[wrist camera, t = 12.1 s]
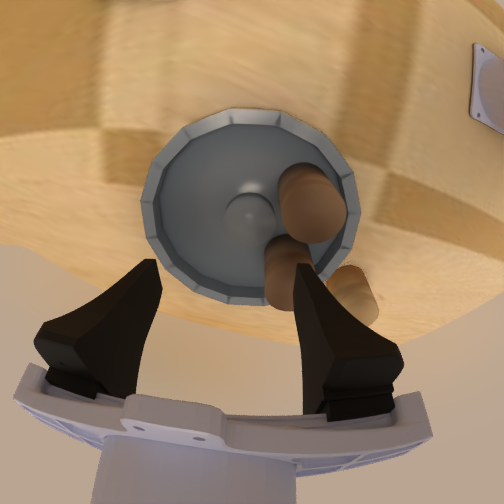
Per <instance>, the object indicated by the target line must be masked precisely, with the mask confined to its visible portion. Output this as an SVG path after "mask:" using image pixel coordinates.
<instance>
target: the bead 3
mask: <svg viewBox="0 0 504 504" xmlns="http://www.w3.org/2000/svg"><path fill="white" fill-rule="evenodd" d="M327 287H328V290H329V291H330V292H331V293H332V295H333V296H334V297H335V298H336V299H337V300H338V302H339V303H340V304H341V305H342V306H343V307H344V308H345V309H346V310H347V311H349V312H350V313H351V314H352V315H353V316H354V317H355V318H357V319H358V320H359V321H360V322H362V323H363V324H364V325H366V326H367V327H368V326H370V325H371V324H372V323H373V322H374V321H375V320H376V319H377V317H378V315H379V308H378V305H377V303H376V300H375V298H374V296H373V293H372V291H371V289H370V286H369V284H368V282H367V280H366V277H365V275H364V273H363V271H362V270H361V269H360V268H359V267H356V266H352V265H347V266H343V267H340V268H338V269H336V270H335V272H334V273H333V274H332V275H331V277H330V278H329V279H328V281H327Z"/></svg>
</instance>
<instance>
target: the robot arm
mask: <svg viewBox="0 0 504 504" xmlns="http://www.w3.org/2000/svg"><path fill="white" fill-rule="evenodd" d="M481 49H482V51H481ZM477 113H478V116H477ZM470 115H471V117H472V118H474V119H476V120H478V121H480V122H482V123H484V124H486V125H488V126H489V127H491V128H493V129H495V130H496V131H498V132H500V133H502V134H503V135H504V60H501V59H500V58H498V57H497V56H496V55H494V54H493V53H492V52H490V51H489V50H488V49H486V48H485V47H483V46H482V45H480V44H479V43H475V44H474V68H473V86H472V97H471V106H470ZM162 290H163V288H162V284H161V280H160V276H159V272H158V267H157V263H156V259H144V260H143V261H142V262H140V263H139V264H138V265H137V266H135V267H134V268H133V269H132V270H131V271H130V272H128V273H127V274H126V275H125V276H124V277H123V278H121V279H120V280H119V281H118V282H116V283H115V284H114V285H113V286H111V287H110V288H109V289H108V290H106V291H105V292H104V293H102V294H101V295H99V296H98V297H96V298H95V299H94V300H92V301H90V302H88V303H87V304H85V305H83V306H81V307H80V308H78V309H76V310H74V311H72V312H70V313H68V314H65V315H63V316H61V317H58V318H55V319H53V320H50V321H47V322H44V323H43V325H42V326H41V328H40V330H39V331H38V333H37V335H36V337H35V339H34V345H35V348H36V349H37V351H38V352H39V354H40V355H41V356H42V358H43V359H44V360H45V361H46V363H47V364H48V365H49V366H50V367H49V369H48V371H47V370H46V369H44V368H42V367H40V366H37V365H35V364H32V363H29V365H28V366H27V369H26V370H25V373H24V374H23V377H22V379H21V381H20V383H19V385H18V387H17V390H16V392H15V394H14V396H13V400H15V402H17V403H18V404H19V405H20V406H21V407H23V408H24V409H25V410H26V411H27V412H28V413H30V414H31V415H32V416H33V417H35V418H36V419H37V420H38V421H40V422H42V423H44V424H46V425H48V426H50V427H52V428H54V429H56V430H58V431H60V432H62V433H64V434H66V435H68V436H70V437H72V438H74V439H76V440H79V441H81V442H83V443H86V444H88V445H90V446H92V447H95V448H97V449H100V450H102V453H101V457H100V461H99V465H98V469H97V474H96V478H95V484H94V488H93V493H92V498H91V504H296V477H304V476H313V475H319V474H326V473H331V472H337V471H342V470H347V469H352V468H356V467H360V466H364V465H368V464H373V463H376V462H380V461H384V460H387V459H391V458H395V457H398V456H402V455H405V454H407V453H409V452H410V451H412V450H414V449H415V448H417V447H419V446H420V445H422V444H423V443H425V442H427V441H428V440H430V439H431V438H432V437H433V434H432V430H431V427H430V423H429V419H428V416H427V412H426V409H425V406H424V402H423V399H422V396H421V393H420V392H419V391H417V392H413V393H409V394H404V395H400V396H398V397H395V398H394V399H393V396H392V393H393V391H394V387H393V384H392V383H393V382H394V380H395V379H396V378H397V377H398V375H399V374H400V373H401V371H402V369H403V367H404V361H403V358H402V355H401V353H400V351H399V348H398V346H397V344H395V343H393V342H392V341H390V340H388V339H386V338H384V337H382V336H381V335H379V334H377V333H376V332H374V331H373V330H371V329H370V328H368V327H367V326H366V325H364V324H363V323H362V322H360V321H359V320H358V319H357V318H355V317H354V316H353V315H352V314H351V313H350V312H349V311H347V310H346V309H345V308H344V307H343V306H342V305H341V304H340V303H339V302H338V300H337V299H336V298H335V297H334V296H333V295H332V293H331V292H330V291H329V290H328V288H327V287H326V286H325V285H324V283H323V282H322V281H321V279H320V278H319V276H318V275H317V274H316V272H315V271H314V269H313V268H312V266H311V265H310V264H309V263H297V267H296V274H295V281H294V288H293V307H294V315H295V321H296V326H297V331H298V337H299V342H300V348H301V359H302V378H303V415H293V416H247V415H226V414H224V413H223V412H222V411H221V410H220V409H218V408H216V407H214V406H211V405H207V404H202V403H195V402H186V401H179V400H172V399H165V398H159V397H153V396H148V395H142V394H136V386H137V378H138V372H139V366H140V361H141V356H142V352H143V348H144V344H145V340H146V338H147V335H148V332H149V330H150V327H151V324H152V322H153V319H154V317H155V314H156V311H157V309H158V306H159V303H160V299H161V294H162Z"/></svg>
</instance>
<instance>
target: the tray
mask: <svg viewBox="0 0 504 504" xmlns="http://www.w3.org/2000/svg"><path fill="white" fill-rule="evenodd" d="M301 162H306V163H311V164H314V165H316V166H318V167H319V168H321V169H322V170H323V171H324V173H325V174H326V176H327V177H328V178H329V180H330V181H331V183H332V184H333V185H334V187H335V188H336V190H337V191H338V193H339V194H340V196H341V197H342V199H343V200H344V203H345V206H346V219H345V222H344V225H343V227H342V228H341V230H340V231H339V232H338V233H337V234H336V235H335V236H334V237H332V238H331V239H329V240H327V241H325V242H322V243H317V244H308V246H309V249H310V253H311V257H312V260H313V264H314V268H315V272H316V274H317V275H318V276H319V278H320V279H321V281H322V282H324V281H326V280H327V279H329V278H330V277H331V275H332V274H333V273H334V272H335V270H336V269H337V268H338V266H339V265H340V264H341V263H342V261H343V260H344V259H345V257H346V256H347V255H348V253H349V252H350V251H351V249H352V246H353V242H354V238H355V235H356V231H357V227H358V223H359V219H360V215H361V209H360V203H359V198H358V192H357V187H356V182H355V177H354V172H353V171H352V169H351V168H350V167H349V165H348V164H347V162H346V161H345V160H344V158H343V157H342V155H341V154H340V153H339V151H338V150H337V149H336V147H335V146H334V145H333V144H332V142H331V141H330V140H329V138H328V137H327V136H326V135H325V134H324V133H322V132H321V131H319V130H317V129H315V128H313V127H312V126H310V125H308V124H306V123H304V122H302V121H301V120H299V119H297V118H295V117H293V116H291V115H289V114H287V113H285V112H283V111H281V110H272V109H261V108H229V109H226V110H224V111H221V112H218V113H216V114H213V115H210V116H208V117H206V118H203V119H201V120H199V121H196V122H194V123H192V124H189V125H187V126H185V127H183V128H182V129H181V130H180V131H179V132H178V133H177V134H176V135H175V136H174V137H173V138H172V140H171V141H170V142H169V143H168V144H167V145H166V146H165V147H164V148H163V149H162V151H161V152H160V153H159V154H158V155H157V156H156V157H155V159H154V160H153V161H152V163H151V166H150V169H149V173H148V176H147V179H146V183H145V186H144V190H143V193H142V197H141V209H142V215H143V222H144V228H145V234H146V239H147V240H148V242H149V244H150V245H151V247H152V249H153V250H154V252H155V254H156V255H157V257H158V259H159V260H160V262H161V263H162V265H163V266H164V268H165V270H167V271H168V272H169V273H170V274H172V275H173V276H174V277H175V278H177V279H178V280H179V281H181V282H182V283H183V284H184V285H186V286H187V287H188V288H190V289H191V290H192V291H193V292H196V293H198V294H201V295H204V296H206V297H209V298H212V299H215V300H217V301H220V302H223V303H226V304H233V305H251V306H266V305H270V304H269V303H268V301H267V300H266V297H265V276H264V250H265V247H266V245H267V244H268V242H269V241H270V240H271V239H273V238H274V237H276V236H279V235H282V234H289V233H288V232H287V231H286V229H285V227H284V224H283V220H282V214H281V207H280V201H279V195H278V181H279V178H280V176H281V174H282V173H283V172H284V171H285V170H286V169H287V168H288V167H290V166H291V165H293V164H296V163H301Z"/></svg>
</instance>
